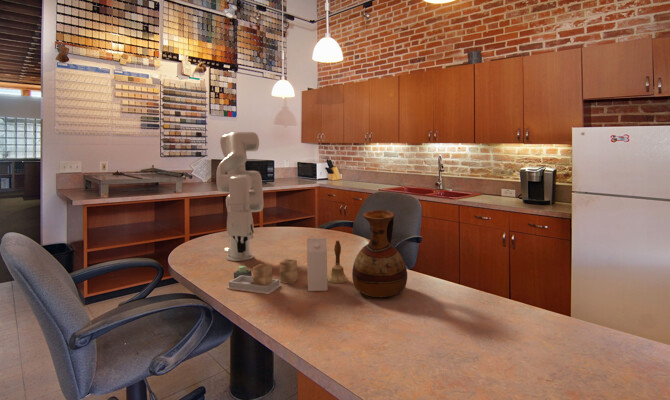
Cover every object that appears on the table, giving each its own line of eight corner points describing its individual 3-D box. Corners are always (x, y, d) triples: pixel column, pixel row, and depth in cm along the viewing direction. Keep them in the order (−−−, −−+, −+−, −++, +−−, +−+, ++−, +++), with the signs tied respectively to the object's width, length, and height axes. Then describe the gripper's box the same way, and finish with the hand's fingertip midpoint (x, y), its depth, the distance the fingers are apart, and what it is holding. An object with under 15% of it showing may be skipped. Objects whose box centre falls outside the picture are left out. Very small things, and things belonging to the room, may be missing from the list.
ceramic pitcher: (344, 298, 137) (343, 213, 134) (361, 280, 156) (361, 205, 152) (400, 305, 131) (401, 215, 127) (411, 285, 149) (412, 207, 145)
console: (234, 279, 158) (233, 272, 158) (241, 276, 163) (240, 269, 163) (244, 281, 157) (244, 273, 156) (251, 277, 161) (251, 270, 161)
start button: (237, 277, 159) (237, 267, 158) (241, 275, 162) (241, 265, 161) (243, 278, 158) (243, 268, 157) (248, 275, 161) (247, 266, 160)
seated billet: (253, 288, 147) (252, 267, 146) (260, 284, 151) (260, 263, 150) (265, 289, 145) (264, 268, 144) (272, 285, 149) (271, 264, 148)
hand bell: (350, 277, 159) (350, 239, 157) (344, 284, 151) (343, 243, 149) (331, 276, 162) (330, 237, 160) (324, 282, 154) (323, 242, 152)
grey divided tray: (227, 288, 148) (226, 281, 148) (240, 281, 157) (240, 274, 156) (269, 294, 142) (268, 287, 142) (281, 286, 150) (280, 279, 150)
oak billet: (280, 282, 155) (279, 262, 154) (286, 278, 160) (285, 259, 159) (291, 283, 153) (291, 263, 152) (297, 279, 158) (296, 260, 157)
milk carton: (307, 285, 151) (306, 236, 149) (326, 284, 152) (325, 235, 149) (308, 291, 144) (306, 240, 142) (327, 290, 145) (326, 240, 142)
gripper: (218, 207, 156) (220, 252, 159) (250, 210, 150) (252, 256, 153) (229, 204, 163) (231, 247, 166) (261, 206, 157) (262, 251, 160)
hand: (241, 251), depth 160 cm, fingers closed
